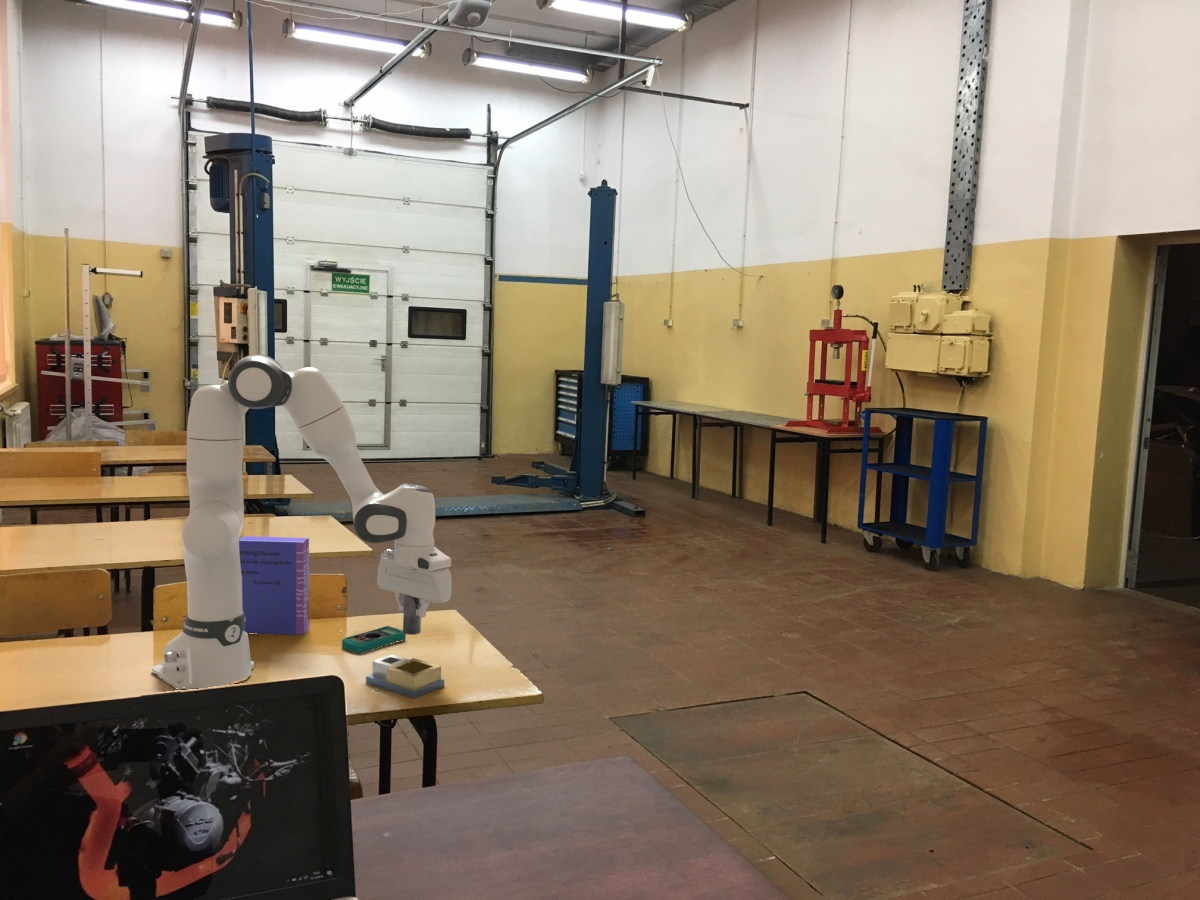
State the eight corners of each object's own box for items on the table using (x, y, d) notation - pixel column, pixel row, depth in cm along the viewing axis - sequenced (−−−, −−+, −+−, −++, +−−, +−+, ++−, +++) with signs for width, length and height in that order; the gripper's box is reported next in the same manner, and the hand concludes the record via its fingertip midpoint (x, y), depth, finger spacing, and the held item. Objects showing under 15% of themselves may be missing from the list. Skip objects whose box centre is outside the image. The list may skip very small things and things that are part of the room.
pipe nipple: (399, 632, 219) (400, 593, 218) (411, 628, 222) (412, 590, 221) (411, 635, 217) (413, 597, 216) (424, 631, 220) (425, 593, 219)
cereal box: (309, 629, 244) (309, 537, 241) (304, 635, 239) (303, 541, 236) (240, 627, 243) (239, 535, 240) (233, 633, 239) (232, 539, 236)
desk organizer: (366, 683, 208) (366, 663, 208) (396, 671, 216) (396, 652, 216) (414, 698, 201) (414, 677, 200) (444, 685, 208) (444, 665, 208)
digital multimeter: (339, 649, 231) (339, 637, 231) (387, 635, 243) (388, 623, 242) (358, 656, 227) (358, 644, 226) (407, 641, 238) (407, 630, 238)
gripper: (371, 549, 220) (369, 608, 222) (437, 565, 209) (435, 626, 211) (391, 545, 226) (389, 602, 227) (456, 560, 215) (454, 620, 216)
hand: (412, 614), depth 219 cm, fingers closed on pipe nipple, 4 cm apart
